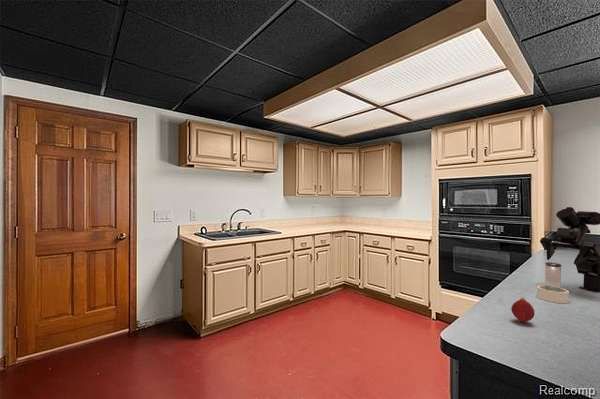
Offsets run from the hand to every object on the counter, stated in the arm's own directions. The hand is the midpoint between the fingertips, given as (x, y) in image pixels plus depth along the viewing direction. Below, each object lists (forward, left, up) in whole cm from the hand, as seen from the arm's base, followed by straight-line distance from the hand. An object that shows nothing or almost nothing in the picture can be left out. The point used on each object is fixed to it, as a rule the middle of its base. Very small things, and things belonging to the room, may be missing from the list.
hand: (560, 261), depth 121 cm
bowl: (+10, +3, -14) cm, 17 cm away
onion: (+45, +16, -14) cm, 49 cm away
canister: (+10, +3, -13) cm, 16 cm away
